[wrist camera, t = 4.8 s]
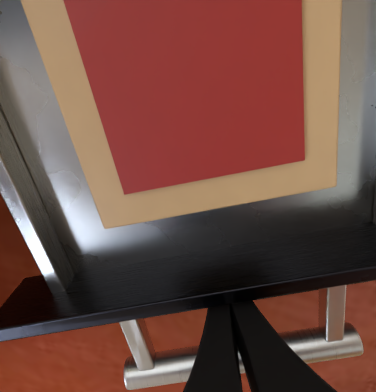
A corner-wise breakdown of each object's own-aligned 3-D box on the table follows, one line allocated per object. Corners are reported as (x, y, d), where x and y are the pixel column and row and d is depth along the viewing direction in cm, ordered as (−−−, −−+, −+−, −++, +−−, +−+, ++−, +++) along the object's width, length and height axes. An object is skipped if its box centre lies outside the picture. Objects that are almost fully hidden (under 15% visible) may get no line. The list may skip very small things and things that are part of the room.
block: (274, 146, 9) (340, 189, 5) (134, 173, 9) (102, 233, 6) (260, -54, 7) (356, -225, 3) (81, -12, 7) (-30, -122, 3)
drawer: (410, 299, 12) (470, 354, 10) (66, 353, 13) (38, 417, 11) (519, -305, 6) (799, -629, 3) (-189, -111, 7) (-427, -239, 4)
